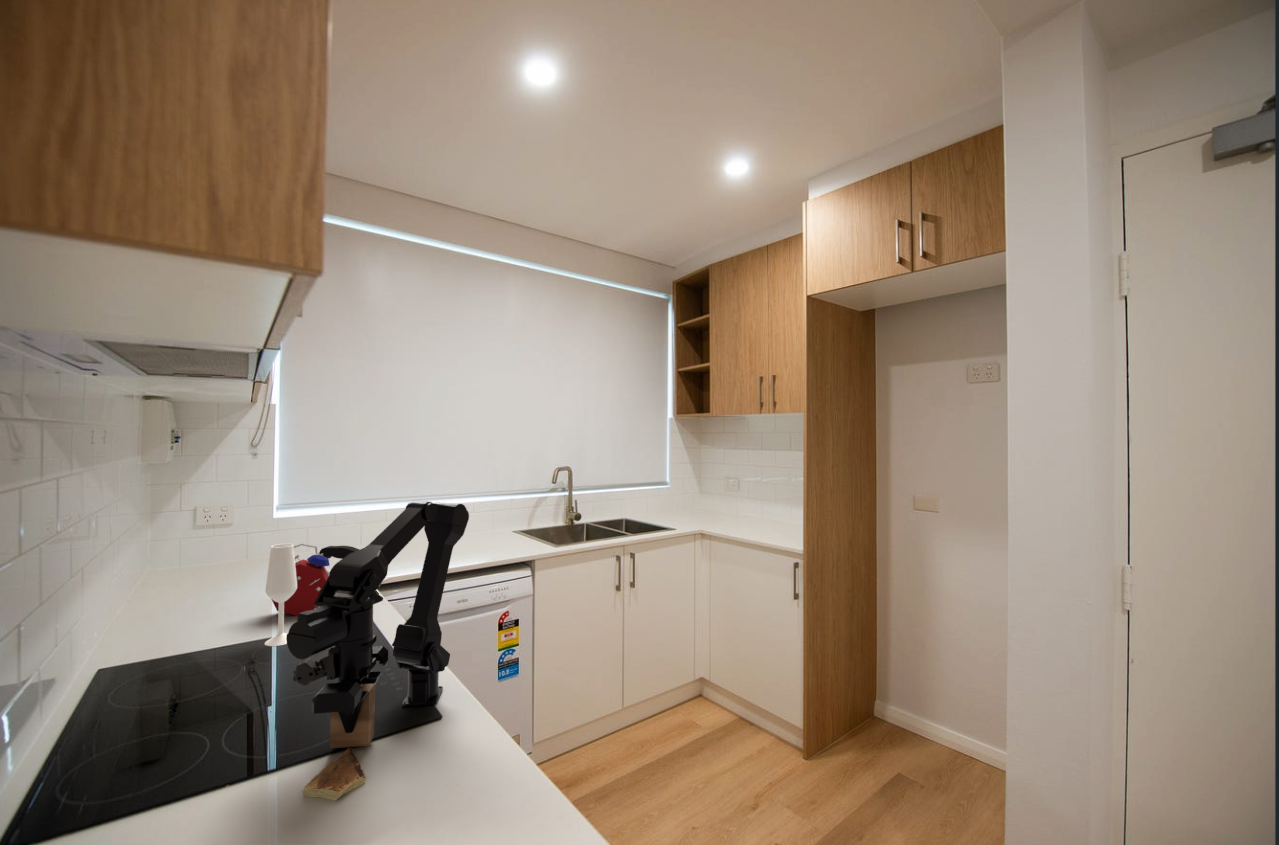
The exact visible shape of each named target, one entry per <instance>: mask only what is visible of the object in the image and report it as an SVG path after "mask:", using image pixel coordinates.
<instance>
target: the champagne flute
mask: <svg viewBox="0 0 1279 845" xmlns="http://www.w3.org/2000/svg"><path fill="white" fill-rule="evenodd" d="M294 546H295V545H294V543H280V544H279V543H278V544H273V545H271V546H270V552H269V561H268V568H267V575H266V583H265V594H266V596H268V598H270V600H271V599H272V600H274V601H275V602H278V603H279V608H278V611H277V612H278V618H277V620H278V622H277V624H278V625H277V633H276V635H274V636H272V637H271V638H269V639H268V640H266V641H265V642H264V645H265V646H267V647H277V646H278V647H279V646H282V645H283V646H284V645H287V639H286V638H287V634H288V633H286V632H285V631H284V630H285V627H284V626H285V624H284V623H285V613H284V602H285V601H286V600H288V599H289V598H290V597H291V596H292V595H293V594H294V593H295V591H296V589H297V578H296V567H295V563H296V559H295V557H296V556H295V548H294ZM272 600H271V601H272Z"/></svg>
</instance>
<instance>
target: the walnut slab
mask: <svg viewBox="0 0 1279 845" xmlns="http://www.w3.org/2000/svg"><path fill="white" fill-rule="evenodd" d="M362 691H368V693H367V696H366V699H365V701H364V704H363V706H362V709H361V712H360V715H359V717H358V720H357V723H356V725H355V728H354V730H353V732H352V733H346V732H345V730H344V727H343V724H342V721H341V719H340V716H339V713H338V712H331V713H330V724H329V726H330V729H329V742H330V743H329V749H339V748H341V749H342V748H349V747H350V746H351V748H355V747H365V746H369V745H370V743H371V742H372V740H373V739H374V737H375V714H376V713H375V711H376V710H375V709H376V708H375V706H376V705H375V704H376V703H375V702H376V701H375V699H376V696H375V695H376V685H375V683H373V684H363V685H362Z"/></svg>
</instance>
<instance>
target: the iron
mask: <svg viewBox="0 0 1279 845" xmlns="http://www.w3.org/2000/svg"><path fill="white" fill-rule="evenodd" d="M358 550H360V549H359V548H357V547H354V546H350V545H328V546H326V547H323V548H321V549H320V550H319V552H318V553H319V554H322V553H323V556H324V557H326V558H328V560H329V559H331V558H335V559H339V560H342V559H343V558H345V557H346V556H347V555H349V554H350V553H353V552H355V551H358ZM324 567H325V569H326V571H327V573H328V575H330V571H331V568H328V566H324ZM390 579H391V577H387V576H386V577H385V579H384V580H383V581H382V583H381V584H380V586H379V587H381V585H382V584H383V583H385V582H387V581H389V580H390ZM379 587H378V588H379ZM334 596H336V597H343V598H353V596H348V595H341V594H335V595H334Z"/></svg>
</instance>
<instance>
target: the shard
mask: <svg viewBox="0 0 1279 845" xmlns="http://www.w3.org/2000/svg"><path fill="white" fill-rule="evenodd" d="M366 781H367V777H366V776H365V773H364V771H363V769H362V766H361V764H360V761H359V759H358V757H357V755H356V754H355V752H354V751H353V747H351V746H350V747H347V748H346V750H344V751H343V752H342V753H341V754H340V755H339V756H338V757H337V758H335V759H334V760H333V761H331V762H330V763H329V764H328V765H327V766H326V767H324V768H323V769H322V770H321V771H319V773H318V774H316V775H315V776H314V777H313V778H312V779H311V780H310V781H309V782H308V783H307V784H306V785H305V786H304V787H303V789H302V791H301V792H302V796H303V797H311V798H323V799H327V800H332V801H337V800H338V799H339V798H340V797H341V796H344V795H345V794H346V793H348V792H350V791H351V790H354V789H355V788H358V787H360V786H362V785H364V784H365V782H366Z"/></svg>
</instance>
